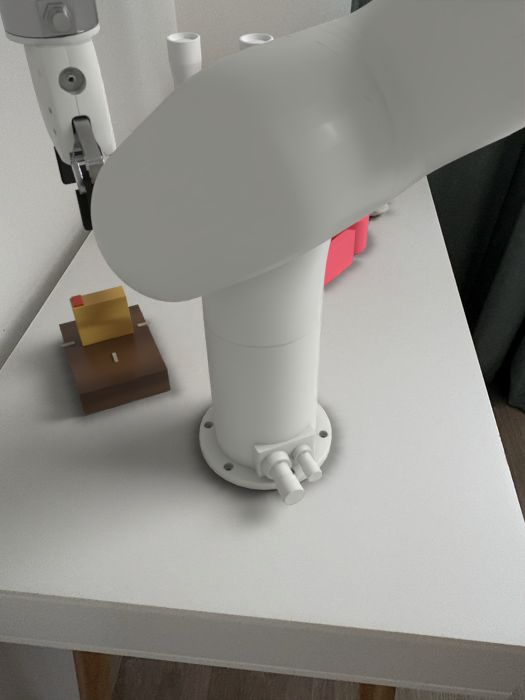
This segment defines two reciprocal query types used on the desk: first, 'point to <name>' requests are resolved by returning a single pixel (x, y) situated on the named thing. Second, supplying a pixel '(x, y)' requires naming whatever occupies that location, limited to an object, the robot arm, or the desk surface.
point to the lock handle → (102, 315)
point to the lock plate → (116, 366)
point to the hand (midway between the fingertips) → (89, 202)
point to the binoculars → (198, 52)
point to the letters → (345, 248)
